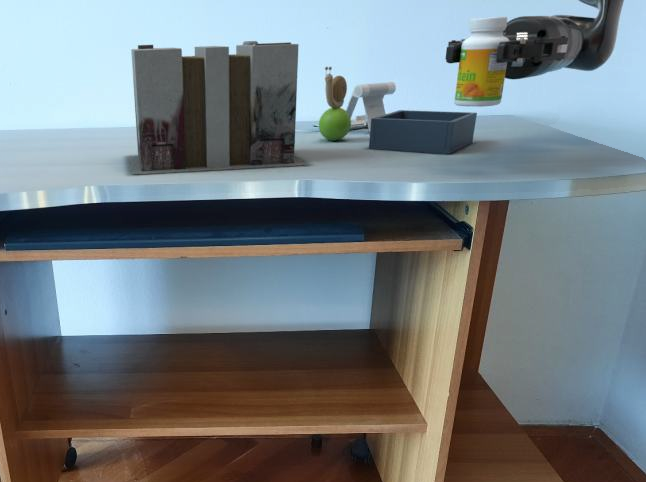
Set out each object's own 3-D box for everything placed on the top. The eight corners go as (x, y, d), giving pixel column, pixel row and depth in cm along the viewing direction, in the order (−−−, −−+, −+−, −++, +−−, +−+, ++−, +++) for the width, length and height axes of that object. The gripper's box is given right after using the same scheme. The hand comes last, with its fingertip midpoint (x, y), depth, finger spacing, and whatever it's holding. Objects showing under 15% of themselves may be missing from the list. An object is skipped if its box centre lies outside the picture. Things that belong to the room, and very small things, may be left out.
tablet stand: (365, 126, 126) (369, 80, 122) (396, 130, 120) (401, 82, 116) (332, 130, 122) (335, 83, 118) (363, 135, 116) (367, 85, 112)
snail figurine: (309, 142, 110) (312, 66, 105) (327, 137, 115) (331, 64, 109) (337, 144, 107) (342, 66, 102) (355, 139, 111) (361, 64, 106)
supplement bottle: (444, 104, 82) (454, 19, 77) (479, 101, 83) (491, 17, 79) (474, 107, 77) (486, 17, 73) (510, 104, 78) (524, 15, 74)
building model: (129, 156, 103) (121, 45, 96) (281, 148, 105) (284, 39, 98) (132, 174, 89) (123, 46, 82) (307, 165, 91) (313, 39, 84)
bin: (472, 142, 104) (477, 112, 102) (449, 154, 95) (454, 121, 93) (396, 138, 111) (399, 110, 109) (368, 148, 102) (371, 118, 100)
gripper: (482, 18, 89) (422, 20, 79) (597, 12, 80) (545, 13, 69) (474, 76, 93) (415, 85, 82) (583, 77, 83) (532, 88, 73)
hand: (475, 52), depth 76 cm, fingers closed on supplement bottle, 5 cm apart
